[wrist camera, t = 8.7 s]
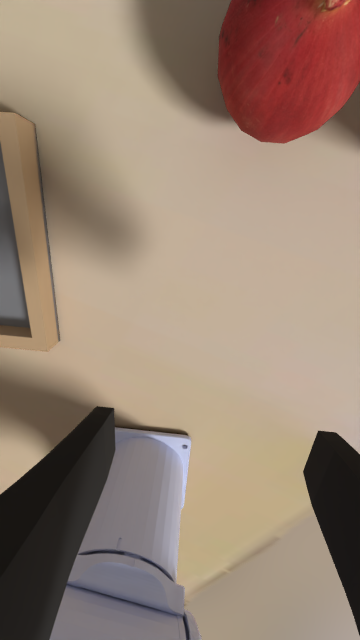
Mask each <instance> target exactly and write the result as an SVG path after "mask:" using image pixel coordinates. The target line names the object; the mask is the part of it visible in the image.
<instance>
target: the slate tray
mask: <svg viewBox="0 0 360 640" xmlns="http://www.w3.org/2000/svg"><path fill="white" fill-rule="evenodd" d="M59 341H60V334H59V325H58V317H57V308H56V300H55V291H54V283H53V274H52V265H51V257H50V248H49V240H48V231H47V223H46V214H45V206H44V197H43V188H42V180H41V171H40V163H39V154H38V146H37V137H36V128H35V124H34V123H32V122H30V121H28V120H27V119H25V118H23V117H21V116H19V115H18V114H16V113H12V112H0V347H4V348H15V349H25V350H35V351H45V352H48V351H49V350H50V349H51V348H53V347H54V346H55V345H56V344H57V343H58V342H59Z"/></svg>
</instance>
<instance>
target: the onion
mask: <svg viewBox="0 0 360 640" xmlns="http://www.w3.org/2000/svg"><path fill="white" fill-rule="evenodd" d="M218 79H219V82H220V86H221V90H222V93H223V97H224V101H225V104H226V108H227V110H228V112H229V113H230V115H231V116H232V118H233V119H234V120H235V122H236V123H237V125H238V126H239V128H240V129H241V131H243V132H245V133H247V134H248V135H250V136H252V137H254V138H256V139H257V140H259V141H261V142H272V143H287V142H289V141H292V140H294V139H297V138H299V137H302V136H304V135H307V134H309V133H311V132H313V131H315V130H317V129H319V128H320V127H321V126H322V125H323V124H324V123H325V122H327V121H328V120H329V119H330V118H331V117H332V116H333V115H334V114H336V113H337V112H338V111H339V110H340V109H341V108H342V107H343V106H344V104H345V103H346V102H347V100H348V99H349V98H350V96H351V95H352V93H353V91H354V90H355V88H356V87H357V85H358V84H359V82H360V0H231V3H230V5H229V8H228V11H227V13H226V16H225V19H224V22H223V24H222V28H221V32H220V36H219V56H218Z"/></svg>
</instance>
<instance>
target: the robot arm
mask: <svg viewBox="0 0 360 640" xmlns="http://www.w3.org/2000/svg"><path fill="white" fill-rule="evenodd" d="M190 447H191V438H190V437H189V436H187V435H180V434H171V433H162V432H153V431H144V430H135V429H125V428H116V427H115V422H114V408H107V407H98V406H97V407H96V408H95V409H94V410H93V411H92V412H91V413H90V414H89V415H88V416H87V417H86V418H85V419H84V420H83V421H82V422H81V423H80V424H79V425H78V426H77V427H76V428H75V429H74V430H73V431H72V432H71V433H70V434H69V435H68V436H67V437H66V438H64V439H63V440H62V441H61V442H60V443H59V444H58V445H57V446H56V447H55V448H54V449H53V450H52V451H51V452H50V453H49V454H47V455H46V456H45V457H44V458H43V459H42V460H41V461H40V462H38V463H37V464H36V465H35V466H34V467H33V468H32V469H30V470H29V471H28V472H27V473H26V474H25V475H23V476H22V477H21V478H20V479H19V480H18V481H16V482H15V483H14V484H13V485H12V486H10V487H9V488H8V489H7V490H5V491H4V492H3V493H2V494H0V640H202V638H201V635H200V632H199V630H198V626H197V623H196V620H195V618H194V616H193V614H192V613H191V612H190V611H188V610H185V609H184V594H185V588H184V586H181V585H178V584H176V578H177V562H178V547H179V531H180V516H181V509H182V508H183V507H184V499H185V490H186V482H187V473H188V464H189V456H190ZM303 473H304V477H305V481H306V485H307V489H308V493H309V496H310V500H311V504H312V507H313V509H314V512H315V515H316V517H317V520H318V522H319V525H320V528H321V531H322V533H323V536H324V538H325V541H326V543H327V546H328V549H329V551H330V554H331V556H332V559H333V562H334V564H335V567H336V569H337V572H338V575H339V577H340V580H341V582H342V585H343V587H344V590H345V593H346V596H347V598H348V601H349V604H350V607H351V609H352V612H353V616H354V619H355V622H356V625H357V629H358V632H359V635H360V454H359V453H358V452H357V451H356V450H354V449H353V448H352V447H351V446H350V445H349V444H348V443H347V442H346V441H345V440H344V439H343V438H342V437H341V436H339V435H338V434H337V433H335V432H326V431H318V433H317V435H316V438H315V441H314V444H313V446H312V449H311V452H310V454H309V457H308V460H307V462H306V465H305V468H304V471H303Z"/></svg>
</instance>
